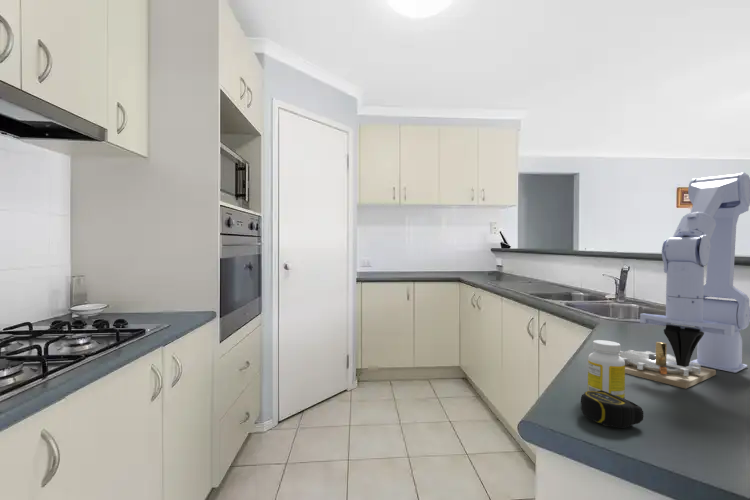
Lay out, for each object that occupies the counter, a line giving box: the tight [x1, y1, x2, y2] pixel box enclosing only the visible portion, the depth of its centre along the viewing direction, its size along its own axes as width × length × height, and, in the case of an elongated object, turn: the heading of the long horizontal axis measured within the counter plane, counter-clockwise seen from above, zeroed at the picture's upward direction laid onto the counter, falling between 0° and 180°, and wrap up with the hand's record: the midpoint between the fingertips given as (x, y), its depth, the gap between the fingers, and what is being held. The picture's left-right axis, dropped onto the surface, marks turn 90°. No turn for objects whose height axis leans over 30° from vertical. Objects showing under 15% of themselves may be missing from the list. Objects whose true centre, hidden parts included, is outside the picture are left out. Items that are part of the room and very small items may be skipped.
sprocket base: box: [625, 365, 717, 390], centre depth 82 cm, size 17×16×1 cm
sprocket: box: [619, 341, 702, 376], centre depth 82 cm, size 15×15×6 cm
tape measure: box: [580, 390, 644, 429], centre depth 55 cm, size 7×7×4 cm
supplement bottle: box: [587, 339, 626, 399], centre depth 64 cm, size 5×5×10 cm
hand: (682, 365), depth 74 cm, fingers closed
